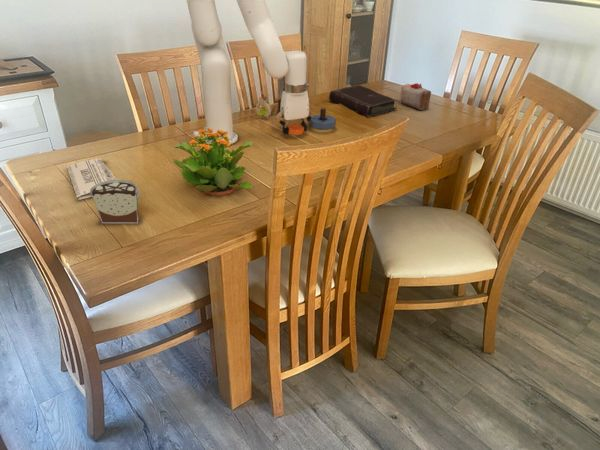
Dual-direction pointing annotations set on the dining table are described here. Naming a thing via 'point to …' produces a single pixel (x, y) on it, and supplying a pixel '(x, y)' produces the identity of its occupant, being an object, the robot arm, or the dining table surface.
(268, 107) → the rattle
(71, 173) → the newspaper
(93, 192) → the cake slice
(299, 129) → the orange ring
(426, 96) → the food item
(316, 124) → the blue ring
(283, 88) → the coffee box
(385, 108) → the diary
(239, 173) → the potted flower
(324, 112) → the ring post
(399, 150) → the dining table surface
